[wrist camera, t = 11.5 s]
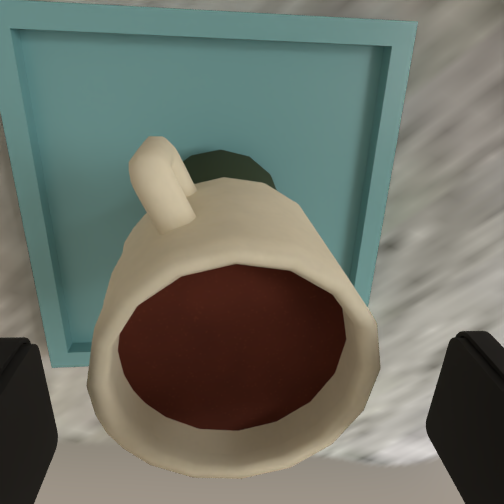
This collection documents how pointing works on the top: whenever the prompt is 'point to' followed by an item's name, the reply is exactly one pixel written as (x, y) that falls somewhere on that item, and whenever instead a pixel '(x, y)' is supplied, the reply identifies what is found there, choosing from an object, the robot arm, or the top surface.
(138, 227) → the character mug
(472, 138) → the top surface
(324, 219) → the tray
